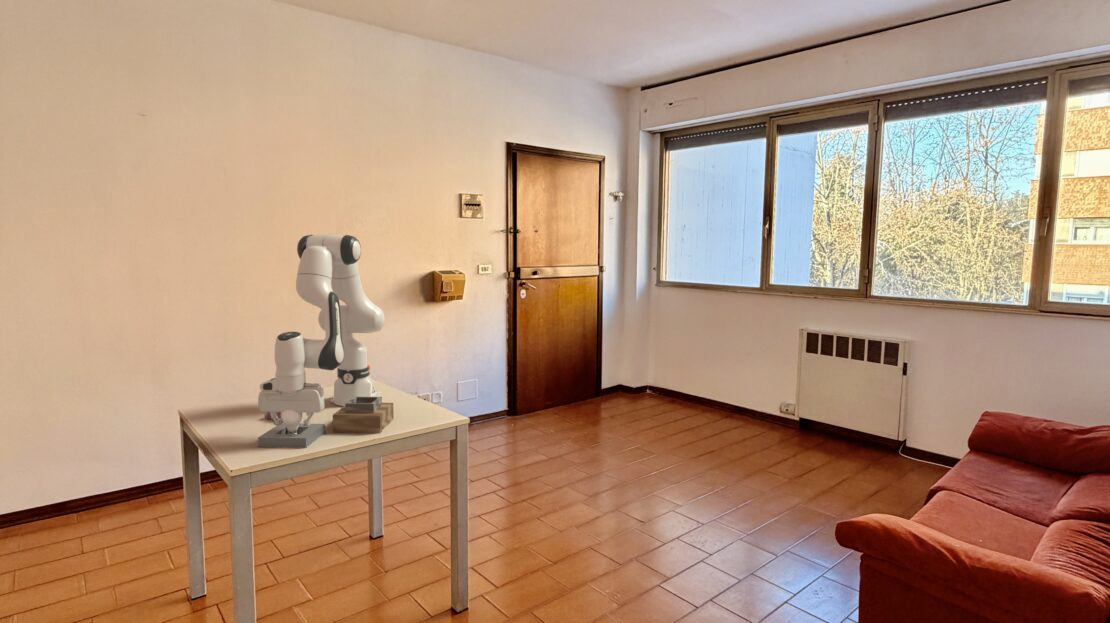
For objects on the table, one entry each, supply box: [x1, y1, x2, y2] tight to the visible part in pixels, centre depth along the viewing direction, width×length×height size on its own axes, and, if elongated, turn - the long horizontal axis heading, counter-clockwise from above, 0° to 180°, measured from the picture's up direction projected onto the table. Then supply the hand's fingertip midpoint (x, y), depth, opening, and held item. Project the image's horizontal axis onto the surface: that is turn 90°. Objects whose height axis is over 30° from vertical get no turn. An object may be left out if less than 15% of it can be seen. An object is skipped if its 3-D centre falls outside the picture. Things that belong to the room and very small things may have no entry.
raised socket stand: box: [332, 396, 395, 434], centre depth 209 cm, size 16×16×9 cm
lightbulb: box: [281, 410, 304, 434], centre depth 193 cm, size 6×6×11 cm
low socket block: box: [257, 422, 326, 448], centre depth 194 cm, size 15×15×3 cm
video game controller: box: [264, 412, 283, 423], centre depth 215 cm, size 10×5×7 cm, turn 60°
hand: (292, 425), depth 193 cm, fingers open, 8 cm apart
